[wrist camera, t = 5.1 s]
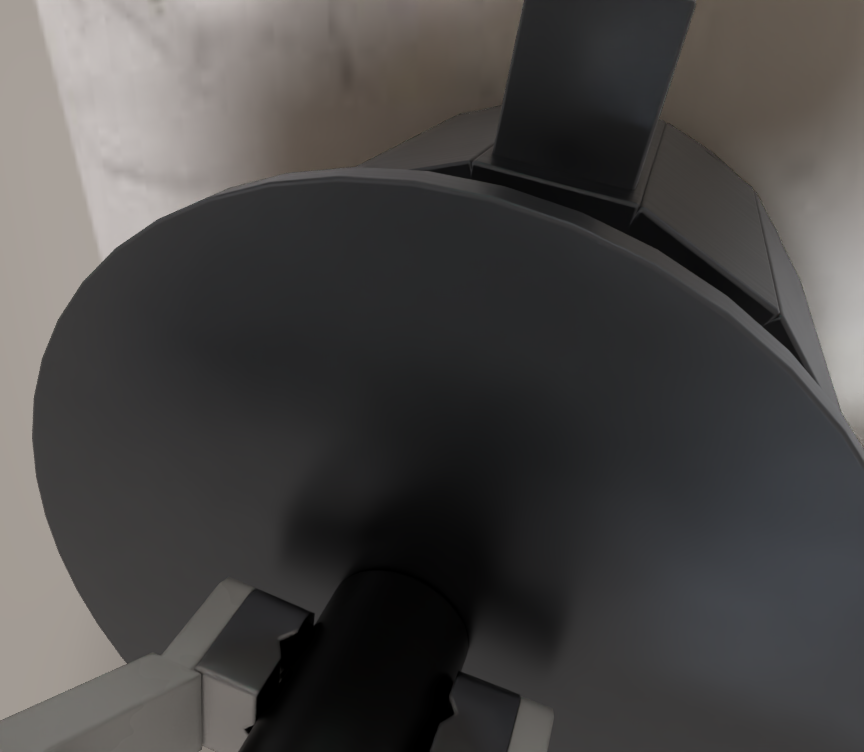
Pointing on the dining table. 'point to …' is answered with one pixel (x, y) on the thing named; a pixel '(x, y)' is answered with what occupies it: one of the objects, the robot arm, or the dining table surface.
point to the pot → (623, 155)
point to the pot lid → (459, 469)
